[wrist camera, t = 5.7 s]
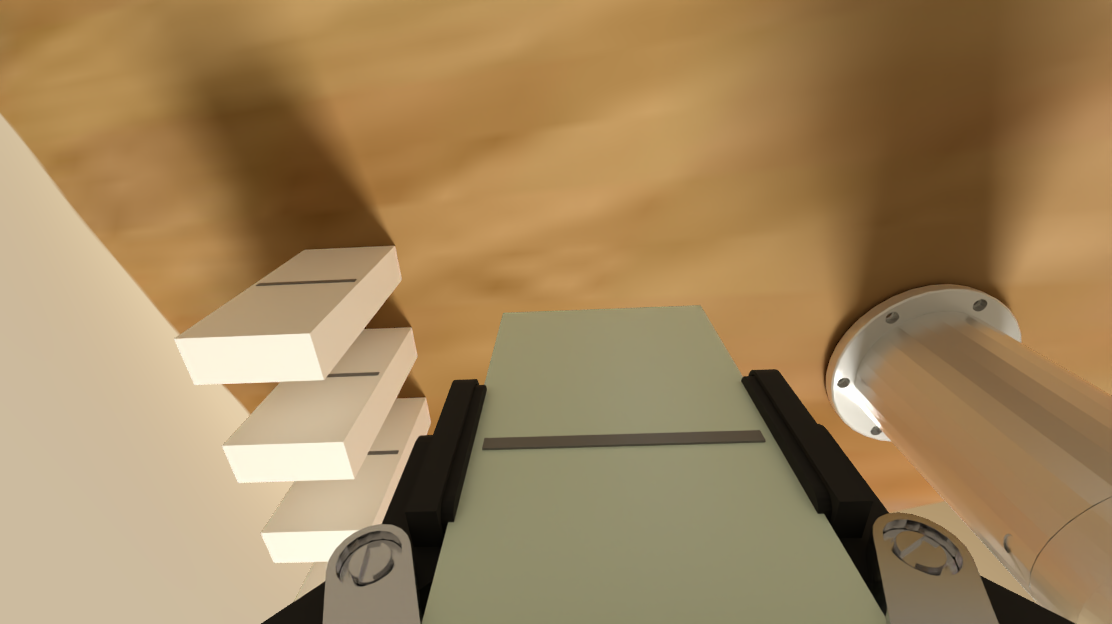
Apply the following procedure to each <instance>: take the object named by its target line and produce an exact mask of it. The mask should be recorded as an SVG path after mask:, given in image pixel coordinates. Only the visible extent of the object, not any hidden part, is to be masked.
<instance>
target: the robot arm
mask: <svg viewBox="0 0 1112 624" xmlns="http://www.w3.org/2000/svg"><path fill="white" fill-rule="evenodd" d="M741 382H742V384H743V385H744V387H745V389H746V391H747V392H748V394H749V396H750V398H751V399H752V401H753V403H754V404H755V406H756V408H757V410H758V411H759V413H760V415H761V417H762V418H763V420H764V422H765V423H766V425H767V427H768V429H769V430H770V432H771V434H772V436H773V437H774V439H775V441H776V443H777V444H778V446H779V448H780V449H781V451H782V453H783V455H784V456H785V458H786V460H787V462H788V463H789V465H790V467H791V468H792V470H793V472H794V474H795V475H796V477H797V479H798V481H799V482H800V484H801V486H802V487H803V489H804V491H805V493H806V494H807V496H808V498H809V500H810V501H811V503H812V505H813V506H814V508H815V510H816V512H817V513H818V514H824V515H825V516H826V518H827V520H828V521H829V523H830V525H831V526H832V528H833V530H834V531H835V533H836V535H837V537H838V538H839V540H840V542H841V543H842V545H843V547H844V548H845V550H846V552H847V553H848V555H849V557H850V558H851V560H852V562H853V564H854V565H855V567H856V569H857V570H858V572H859V574H860V575H861V577H862V579H863V580H864V582H865V584H866V585H867V587H868V589H869V591H870V592H871V594H872V596H873V597H874V599H875V601H876V602H877V604H878V606H879V607H880V609H881V611H882V612H883V614H884V616H885V619H886V624H1112V396H1111V395H1110V394H1108V393H1106V392H1105V391H1103V390H1101V389H1099V388H1098V387H1096V386H1094V385H1093V384H1091V383H1089V382H1087V381H1086V380H1084V379H1082V378H1081V377H1079V376H1077V375H1075V374H1074V373H1072V372H1070V371H1068V370H1067V369H1065V368H1063V367H1062V366H1060V365H1058V364H1056V363H1055V362H1053V361H1051V360H1050V359H1048V358H1046V357H1044V356H1043V355H1041V354H1039V353H1038V352H1036V351H1034V350H1032V349H1031V348H1029V347H1027V346H1025V345H1024V344H1022V343H1021V331H1020V328H1019V325H1018V322H1017V319H1016V318H1015V316H1014V315H1013V314H1012V312H1011V311H1010V309H1009V308H1008V307H1007V306H1005V305H1004V304H1003V303H1002V302H1000V301H999V300H998V299H996V298H994V297H992V296H990V295H988V294H987V293H985V292H983V291H980V290H977V289H974V288H971V287H968V286H963V285H954V284H940V285H929V286H924V287H920V288H915V289H911V290H908V291H906V292H903V293H901V294H898V295H896V296H893V297H891V298H889V299H887V300H886V301H884V302H882V303H880V304H878V305H877V306H875V307H874V308H872V309H871V310H870V311H868V312H867V313H866V314H864V315H863V316H862V317H860V318H859V319H858V320H857V321H856V322H855V323H854V324H853V325H852V326H851V327H850V328H849V329H848V330H847V332H846V333H845V334H844V336H843V337H842V339H841V340H840V341H839V343H838V344H837V346H836V348H835V350H834V352H833V354H832V356H831V358H830V361H829V365H828V369H827V373H826V390H827V394H828V399H829V401H830V403H831V405H832V407H833V409H834V410H835V412H836V413H837V414H838V415H839V416H840V418H841V419H842V420H843V421H844V423H846V424H847V425H848V426H849V427H850V428H852V429H853V430H854V431H856V432H858V433H860V434H862V435H864V436H866V437H870V438H873V439H877V440H881V441H892V443H893V444H894V445H895V446H896V447H897V448H898V449H899V450H900V451H901V453H902V454H903V455H904V456H905V457H906V458H907V459H908V460H909V461H910V463H911V464H912V465H913V466H914V467H915V468H916V469H917V470H918V471H919V472H920V474H921V475H922V476H923V477H924V478H925V479H926V480H927V481H928V482H929V484H930V485H931V486H932V487H933V488H934V489H935V490H936V491H937V492H938V494H939V495H940V496H941V497H942V498H943V499H944V500H945V501H946V502H947V503H948V505H949V506H950V507H951V508H952V509H953V510H954V511H955V512H956V513H957V515H958V516H959V517H960V518H961V519H962V520H963V521H964V522H965V523H966V525H967V526H968V527H969V528H970V529H971V530H972V531H973V532H974V533H975V535H976V536H977V537H978V538H979V539H980V540H981V541H982V542H983V543H984V544H985V545H986V547H987V548H988V549H989V550H990V551H991V552H992V553H993V554H994V556H995V557H996V558H997V559H998V560H999V561H1000V562H1001V563H1002V564H1003V566H1004V567H1005V568H1006V569H1007V570H1008V571H1009V572H1010V573H1011V574H1012V576H1013V577H1014V578H1015V579H1016V580H1017V581H1018V582H1019V583H1020V584H1021V585H1022V587H1023V588H1024V589H1025V590H1026V591H1027V592H1028V593H1029V594H1030V595H1031V597H1032V598H1033V599H1034V600H1035V601H1036V602H1037V603H1038V604H1039V605H1038V604H1036V603H1034V602H1032V601H1030V600H1028V599H1026V598H1024V597H1022V596H1020V595H1018V594H1016V593H1014V592H1012V591H1010V590H1007V589H1006V588H1004V587H1002V586H1000V585H998V584H996V583H994V582H992V581H990V580H988V579H986V578H984V577H982V576H980V575H979V572H978V569H977V567H976V564H975V562H974V559H973V557H972V556H971V554H970V552H969V551H968V549H967V547H966V546H965V545H964V544H963V543H962V542H961V541H960V540H959V539H958V538H957V537H956V536H955V535H953V534H952V533H950V532H949V531H947V530H946V529H945V528H943V527H942V526H940V525H938V524H936V523H934V522H932V521H930V520H928V519H925V518H922V517H919V516H916V515H913V514H907V513H899V512H897V513H889V512H888V511H887V510H886V508H885V507H884V506H883V504H882V503H881V502H880V500H879V499H878V498H877V496H876V495H875V494H874V492H873V491H872V490H871V488H870V487H869V485H868V484H867V483H866V481H865V480H864V479H863V477H862V476H861V475H860V473H859V472H858V471H857V469H856V468H855V467H854V465H853V464H852V463H851V461H850V460H849V459H848V457H847V456H846V455H845V453H844V452H843V451H842V449H841V448H840V446H839V445H838V444H837V442H836V441H835V440H834V438H833V437H832V436H831V434H830V433H829V432H828V430H827V429H826V428H825V427H824V426H823V425H820V424H817V423H816V422H815V420H814V419H813V417H812V416H811V415H810V413H809V412H808V411H807V409H806V408H805V406H804V405H803V404H802V402H801V401H800V400H799V398H798V397H797V395H796V394H795V393H794V391H793V390H792V389H791V387H790V386H789V384H788V383H787V382H786V380H785V379H784V378H783V376H782V375H781V373H780V372H779V371H778V370H775V369H772V370H752V371H750V373H749V376H744V377H743V378H742V380H741ZM486 392H487V387H486V385H479V383H478V380H477V379H470V380H454V381H453V382H452V385H451V388H450V390H449V393H448V396H447V399H446V401H445V404H444V407H443V409H442V412H441V415H440V418H439V420H438V423H437V426H436V428H435V431H434V434H433V435H420V436H419V437H418V438H417V440H416V441H415V444H414V446H413V449H412V451H411V453H410V456H409V458H408V461H407V463H406V466H405V468H404V471H403V473H402V475H401V478H400V480H399V483H398V485H397V488H396V490H395V492H394V495H393V497H392V500H391V502H390V505H389V507H388V510H387V512H386V514H385V517H384V519H383V522H382V524H378V525H373V526H368V527H366V528H363V529H361V530H359V531H356V532H355V533H353V534H352V535H350V536H349V537H347V538H346V539H345V540H344V541H343V542H342V543H341V544H340V545H339V546H338V547H337V548H336V549H335V550H334V552H333V554H332V555H331V557H330V559H329V561H328V565H327V569H326V579H325V581H324V582H323V583H321V584H320V585H318V586H317V587H315V588H314V589H312V590H311V591H309V592H308V593H306V594H305V595H303V596H302V597H300V598H299V599H297V600H296V601H294V602H293V603H292V604H290V605H288V606H287V607H286V608H284V609H282V610H281V611H279V612H278V613H276V614H275V615H274V616H272V617H270V618H269V619H268V620H266V621H264V622H263V623H261V624H422V620H423V616H424V613H425V609H426V605H427V601H428V597H429V594H430V590H431V586H432V582H433V578H434V575H435V571H436V567H437V563H438V559H439V556H440V552H441V548H442V544H443V540H444V537H445V533H446V529H447V525H448V522H454V520H455V516H456V512H457V508H458V504H459V500H460V496H461V492H462V488H463V484H464V480H465V476H466V472H467V468H468V464H469V460H470V456H471V452H472V448H473V444H474V440H475V436H476V432H477V428H478V424H479V420H480V416H481V412H482V408H483V404H484V400H485V396H486Z"/></svg>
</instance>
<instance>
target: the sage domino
mask: <svg viewBox="0 0 1112 624" xmlns="http://www.w3.org/2000/svg"><path fill="white" fill-rule="evenodd" d="M742 378H743V376H742V375H741V373H740V371H739V370H738V368H737V366H736V364H735V363H734V361H733V359H732V358H731V356H730V354H729V353H728V351H727V349H726V348H725V346H724V344H723V343H722V341H721V339H720V337H719V336H718V334H717V332H716V331H715V329H714V327H713V326H712V324H711V322H710V321H709V319H708V317H707V316H706V314H705V312H704V310H703V309H702V307H701V305H695V306H669V307H643V308H617V309H591V310H565V311H539V312H513V313H503V316H502V319H501V323H500V327H499V331H498V335H497V339H496V342H495V346H494V350H493V354H492V358H491V361H490V365H489V369H488V373H487V377H486V380H485V384H484V385H486V387H487V392H486V396H485V400H484V404H483V408H482V412H481V416H480V420H479V424H478V428H477V432H476V436H475V440H474V444H473V448H472V452H471V456H470V460H469V464H468V468H467V472H466V476H465V480H464V484H463V488H462V492H461V496H460V500H459V504H458V508H457V512H456V516H455V520H454V522H448V525H447V529H446V533H445V537H444V540H443V544H442V548H441V552H440V556H439V559H438V563H437V567H436V571H435V575H434V578H433V582H432V586H431V590H430V594H429V597H428V601H427V605H426V609H425V613H424V616H423V620H422V624H886V619H885V616H884V614H883V612H882V611H881V609H880V607H879V606H878V604H877V602H876V601H875V599H874V597H873V596H872V594H871V592H870V591H869V589H868V587H867V585H866V584H865V582H864V580H863V579H862V577H861V575H860V574H859V572H858V570H857V569H856V567H855V565H854V564H853V562H852V560H851V558H850V557H849V555H848V553H847V552H846V550H845V548H844V547H843V545H842V543H841V542H840V540H839V538H838V537H837V535H836V533H835V531H834V530H833V528H832V526H831V525H830V523H829V521H828V520H827V518H826V516H825V515H824V514H818V513H817V512H816V510H815V508H814V506H813V505H812V503H811V501H810V500H809V498H808V496H807V494H806V493H805V491H804V489H803V487H802V486H801V484H800V482H799V481H798V479H797V477H796V475H795V474H794V472H793V470H792V468H791V467H790V465H789V463H788V462H787V460H786V458H785V456H784V455H783V453H782V451H781V449H780V448H779V446H778V444H777V443H776V441H775V439H774V437H773V436H772V434H771V432H770V430H769V429H768V427H767V425H766V423H765V422H764V420H763V418H762V417H761V415H760V413H759V411H758V410H757V408H756V406H755V404H754V403H753V401H752V399H751V398H750V396H749V394H748V392H747V391H746V389H745V387H744V385H743V384H742V382H741V380H742Z"/></svg>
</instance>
